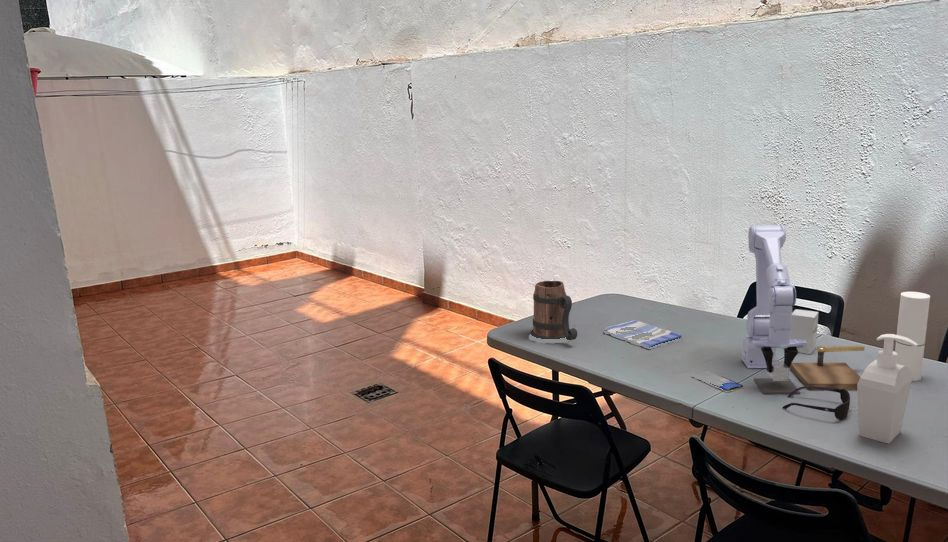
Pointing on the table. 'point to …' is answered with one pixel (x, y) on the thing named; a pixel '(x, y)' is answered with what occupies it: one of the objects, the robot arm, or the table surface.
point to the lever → (840, 349)
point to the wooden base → (826, 374)
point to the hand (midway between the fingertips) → (777, 371)
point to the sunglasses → (839, 411)
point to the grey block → (779, 371)
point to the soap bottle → (884, 393)
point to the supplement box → (805, 328)
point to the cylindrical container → (912, 331)
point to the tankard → (552, 312)
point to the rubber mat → (775, 386)
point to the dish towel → (657, 333)
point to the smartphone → (729, 385)
